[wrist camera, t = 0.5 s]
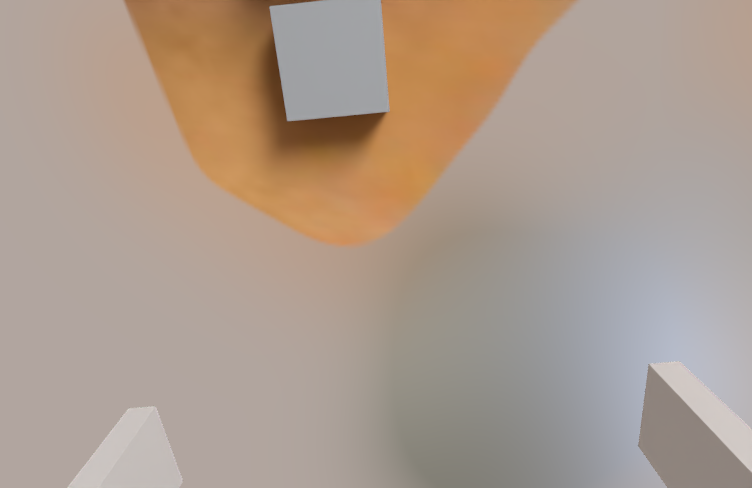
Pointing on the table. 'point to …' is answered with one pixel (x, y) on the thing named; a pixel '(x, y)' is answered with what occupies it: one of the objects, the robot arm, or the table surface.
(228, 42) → the table surface
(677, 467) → the robot arm
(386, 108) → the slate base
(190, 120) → the table surface
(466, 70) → the table surface
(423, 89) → the table surface
